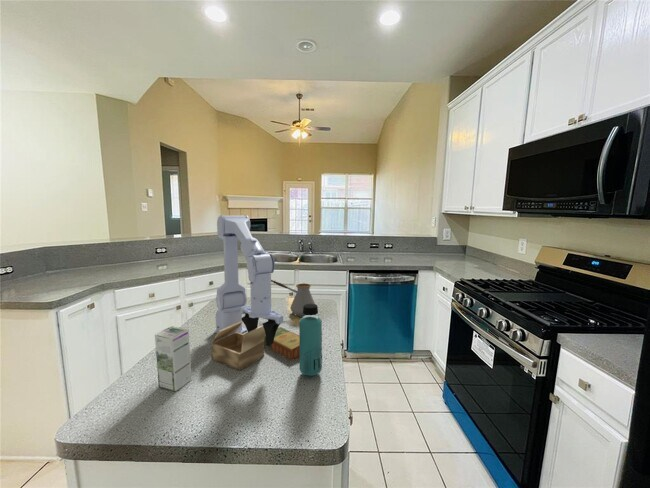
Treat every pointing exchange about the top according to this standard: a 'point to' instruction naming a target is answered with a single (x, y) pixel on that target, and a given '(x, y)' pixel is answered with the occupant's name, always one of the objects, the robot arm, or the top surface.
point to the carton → (285, 344)
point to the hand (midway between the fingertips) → (261, 341)
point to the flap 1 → (226, 331)
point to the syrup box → (173, 358)
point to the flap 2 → (253, 338)
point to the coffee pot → (299, 297)
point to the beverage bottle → (310, 341)
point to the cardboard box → (235, 352)
